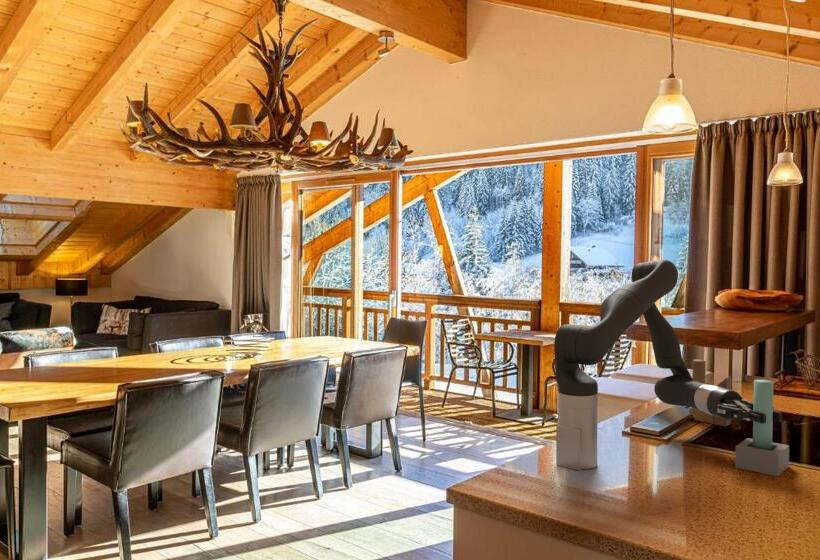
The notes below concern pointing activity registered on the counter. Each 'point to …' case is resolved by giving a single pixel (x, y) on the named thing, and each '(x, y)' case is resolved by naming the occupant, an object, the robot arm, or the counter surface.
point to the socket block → (762, 458)
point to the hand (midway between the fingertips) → (772, 418)
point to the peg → (765, 406)
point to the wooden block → (699, 376)
